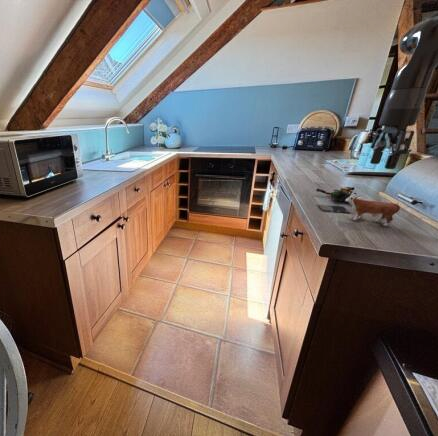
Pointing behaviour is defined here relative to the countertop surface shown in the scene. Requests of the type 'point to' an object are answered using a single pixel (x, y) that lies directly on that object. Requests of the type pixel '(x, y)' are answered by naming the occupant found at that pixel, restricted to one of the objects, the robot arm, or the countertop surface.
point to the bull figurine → (372, 208)
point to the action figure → (339, 193)
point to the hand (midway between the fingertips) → (381, 166)
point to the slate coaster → (333, 208)
